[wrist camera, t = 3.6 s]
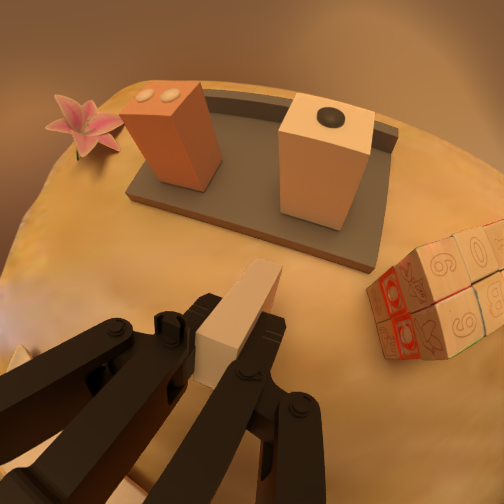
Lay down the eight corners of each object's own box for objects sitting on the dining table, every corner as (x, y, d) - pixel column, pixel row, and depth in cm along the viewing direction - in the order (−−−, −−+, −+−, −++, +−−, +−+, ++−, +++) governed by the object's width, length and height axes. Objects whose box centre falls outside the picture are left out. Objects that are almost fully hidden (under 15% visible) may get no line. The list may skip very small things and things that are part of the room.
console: (387, 154, 25) (398, 128, 21) (369, 273, 21) (386, 256, 17) (191, 111, 30) (183, 88, 27) (131, 200, 26) (113, 178, 22)
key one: (349, 191, 22) (375, 108, 13) (340, 231, 21) (371, 151, 12) (294, 175, 23) (297, 88, 14) (280, 212, 22) (277, 126, 13)
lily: (98, 199, 28) (96, 132, 21) (33, 176, 26) (23, 116, 19) (139, 147, 36) (147, 91, 29) (79, 132, 34) (80, 79, 26)
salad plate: (0, 439, 16) (-17, 439, 13) (38, 343, 22) (17, 338, 18) (100, 554, 10) (87, 563, 7) (176, 492, 15) (161, 508, 12)
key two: (222, 159, 24) (199, 78, 16) (204, 192, 23) (169, 112, 15) (179, 151, 26) (146, 79, 17) (159, 181, 24) (116, 111, 16)
